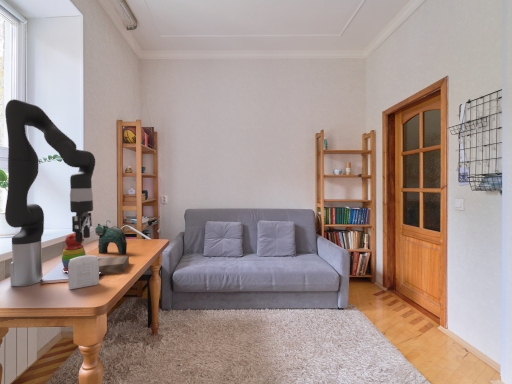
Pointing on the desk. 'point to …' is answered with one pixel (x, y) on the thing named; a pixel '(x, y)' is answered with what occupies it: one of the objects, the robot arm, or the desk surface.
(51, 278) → the desk surface
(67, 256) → the stacking bear
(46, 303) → the desk surface
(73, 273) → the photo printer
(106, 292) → the desk surface
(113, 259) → the walnut block
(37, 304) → the desk surface
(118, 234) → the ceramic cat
